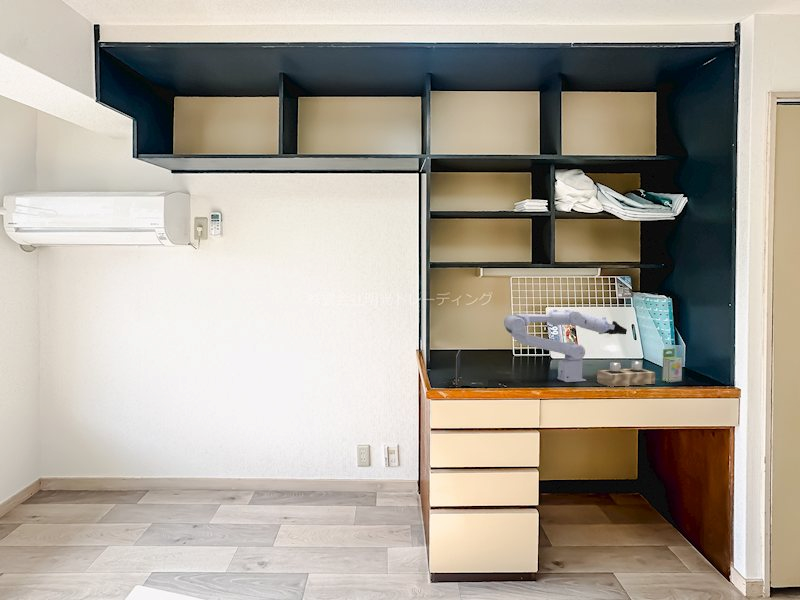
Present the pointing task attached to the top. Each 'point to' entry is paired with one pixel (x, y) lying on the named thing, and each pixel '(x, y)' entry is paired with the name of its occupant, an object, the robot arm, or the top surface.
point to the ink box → (671, 367)
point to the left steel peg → (615, 367)
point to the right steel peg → (636, 366)
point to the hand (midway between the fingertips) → (621, 331)
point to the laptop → (457, 367)
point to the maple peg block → (625, 377)
